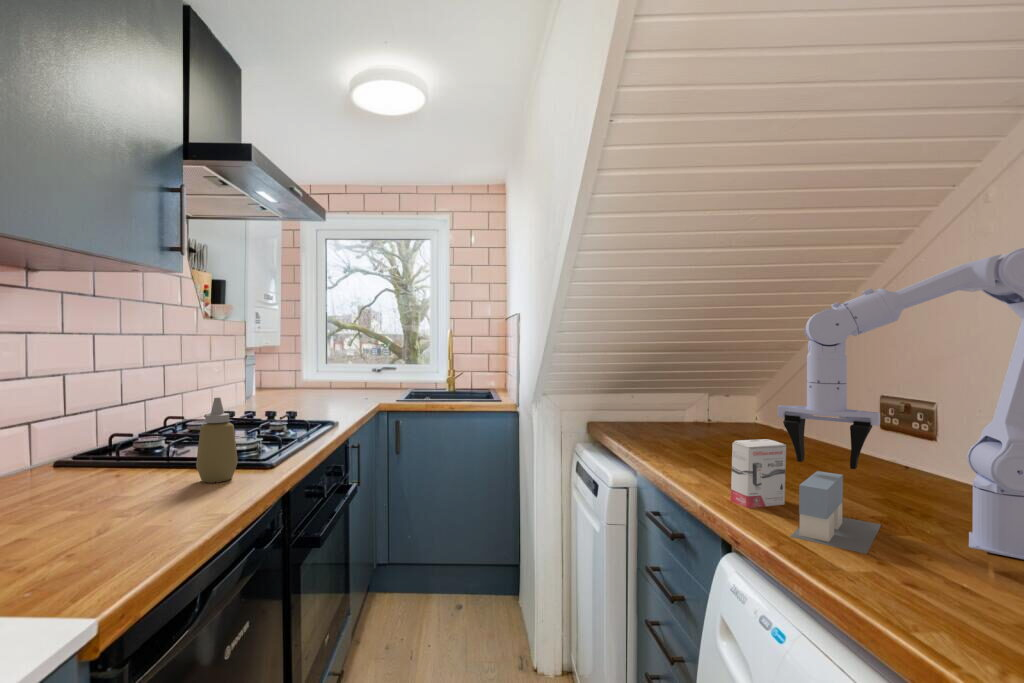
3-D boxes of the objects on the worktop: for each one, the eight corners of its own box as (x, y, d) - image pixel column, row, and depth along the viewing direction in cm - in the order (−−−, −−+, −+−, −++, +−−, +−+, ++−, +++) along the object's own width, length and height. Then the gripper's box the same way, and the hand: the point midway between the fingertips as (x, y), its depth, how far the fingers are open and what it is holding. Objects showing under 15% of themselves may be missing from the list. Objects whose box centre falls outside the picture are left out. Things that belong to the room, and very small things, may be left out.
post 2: (842, 523, 88) (842, 502, 88) (837, 529, 85) (837, 507, 85) (815, 517, 91) (815, 497, 91) (809, 523, 88) (810, 502, 88)
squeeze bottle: (201, 476, 118) (201, 396, 118) (241, 474, 120) (241, 395, 120) (191, 486, 110) (191, 400, 110) (234, 483, 113) (234, 399, 113)
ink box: (748, 511, 96) (748, 445, 96) (729, 502, 100) (730, 440, 100) (787, 506, 98) (787, 443, 98) (767, 499, 103) (767, 438, 103)
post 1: (834, 534, 83) (834, 512, 83) (828, 541, 80) (828, 518, 80) (805, 528, 86) (805, 507, 86) (799, 535, 83) (799, 513, 83)
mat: (881, 527, 88) (881, 524, 88) (866, 556, 75) (866, 553, 75) (813, 513, 94) (813, 511, 94) (789, 538, 82) (789, 536, 82)
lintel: (842, 501, 89) (842, 474, 89) (826, 519, 80) (827, 489, 80) (817, 496, 91) (817, 470, 91) (799, 513, 82) (799, 485, 82)
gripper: (882, 383, 86) (882, 466, 86) (784, 379, 95) (784, 454, 95) (877, 386, 81) (876, 475, 81) (774, 381, 90) (774, 460, 90)
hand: (826, 464), depth 88 cm, fingers open, 7 cm apart
